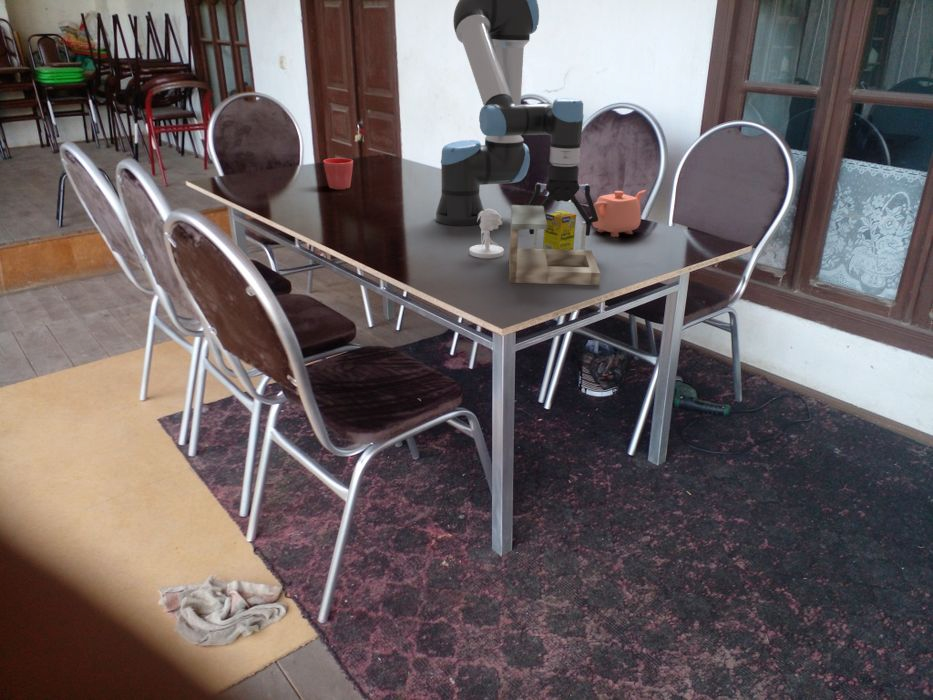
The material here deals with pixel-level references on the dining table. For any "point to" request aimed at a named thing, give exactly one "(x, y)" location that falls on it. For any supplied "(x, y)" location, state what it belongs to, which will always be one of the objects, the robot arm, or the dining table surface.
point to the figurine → (488, 235)
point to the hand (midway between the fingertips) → (558, 246)
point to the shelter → (546, 255)
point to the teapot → (618, 213)
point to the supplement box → (559, 230)
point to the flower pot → (338, 172)
